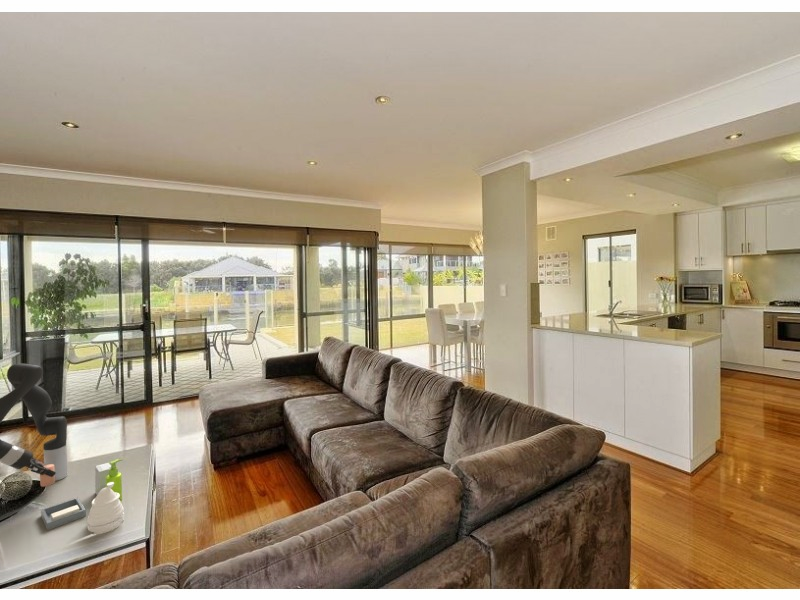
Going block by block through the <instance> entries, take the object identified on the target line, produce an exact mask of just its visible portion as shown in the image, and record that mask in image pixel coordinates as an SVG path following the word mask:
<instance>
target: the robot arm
mask: <svg viewBox="0 0 800 600" xmlns="http://www.w3.org/2000/svg"><path fill="white" fill-rule="evenodd" d="M43 375H44V369H43V367H42V366H40V365H36V364H30V363H29V364H28V363H14V364H12V365H10V366H9V368H8V369H7V371H6V378H7V380H8V382H9V383H10V384H11V386H12V388H14V389H13V390H11V391H10V392H9V393H7V394H5V395H3V396H2V397H0V424H1V423H2V422H3V421H4V420H5V417H6V416H7V415H8V414H9V413H10V411H11V410H12V408H13V407H14V406H15V405H16V404H17V403H18V402H20V400H21V399H22V401H23V402H24V403H23V404H24V405H25V407H26V408H27V410H28V412H29V413H30V415H31V416H32V419H33V421H34V424H35V426H36V430H37V431H38V434H39V435H41V436H45V437H46V436H55V437H54V438H51V439H50V440H47V441H45V442H44V443H43V446H42V447H43V448H42V449H43V460H39V459H38V458H36V457H34V453H33V452H31V451H29V450H27V449H24V448H22V447H20V446H18V445H14V444H12V443H9V442H7V441H5V440H2V439H0V463H1V464H4V465H6V466H8V467H11V468H13V469H16V470H21V469H23V468H24V467H25V468H26V469H27V470H30V472H32V473H36V474H39V475H40V474H41V475H44V474H45V475H48V476H50V477H53V476H54V475H55V482H57V481H61V480H63V479H64V478H67V476H68V474H69V473H68V454H67V453H68V452H67V451H68V450H67V438H68V433H67V432H68V419H67V418H66V416H62V415H61V416H54V417H53V416H52V417H47V414H48V412H49V410H50V409H51V407H52V405H53V401H52V398H51V397H50V394H49V393H48V391H47V390H45V389H44V388H42V387H40V385H37V383H38V382H39V381H40V380H41V379H42V377H43ZM49 464H54V469H55V472H54V471H52V470H50V469H48V468H46V467H44V466H45V465H49ZM42 470H44V471H43V472H42Z"/></svg>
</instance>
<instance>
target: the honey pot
mask: <svg viewBox="0 0 800 600" xmlns="http://www.w3.org/2000/svg"><path fill="white" fill-rule="evenodd" d="M113 485H114V482H110V483H108V484H107V487H108V488H107V487H106V488H103V489H102V490H101V491H100V492H99V493H98V495H97V494H96V496H95V498H93V500H92V501H91V508H90V510H89V514H88V516H87V520H86V521H87V522H86V523H87V530H88V531H89V532H91V535H101V534H105V533H108V532H112V531H113V530H116V529H117V528H119V527H120V526H122V524H123V523H124V519H125V512H124V511H125V510H124V509H125V508H124V506H123V504H122V501H120V500H119V497H120V494H119V493H116V492H114V491H113V490H112V489H110V488H112V487H113ZM118 526H119V527H118Z"/></svg>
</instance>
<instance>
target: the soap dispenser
mask: <svg viewBox="0 0 800 600" xmlns="http://www.w3.org/2000/svg"><path fill="white" fill-rule="evenodd" d="M123 460H124V459H122V458H118V459H117V458H116V459H114V460H112V461H110V462H108V463H109V464H110V465H111V468H110V469H109V475H108V476H107V477H106V487H107V484H108V483H110V482H114V485H113V487H112V488H110V489H112V490H113V491H114V492H116V493H119V494H120V497H119V500H120V501H121V502H122V500H123V491H122V490H123V489H122V488H123V487H122V473H121V472H119V468H118V466H116V463H119V462H121V461H123ZM107 488H108V487H107Z"/></svg>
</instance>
